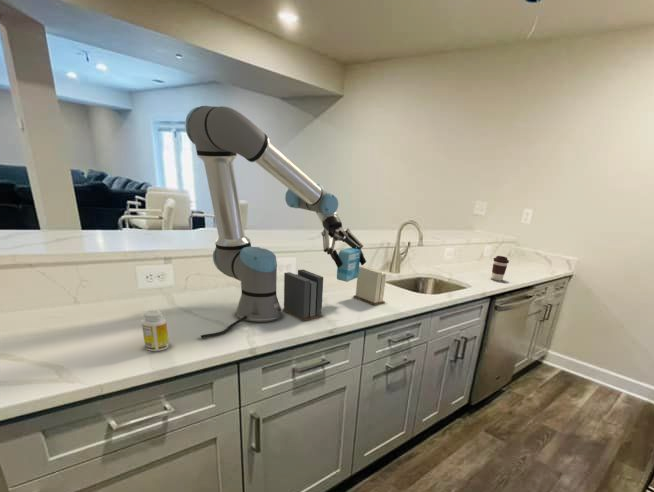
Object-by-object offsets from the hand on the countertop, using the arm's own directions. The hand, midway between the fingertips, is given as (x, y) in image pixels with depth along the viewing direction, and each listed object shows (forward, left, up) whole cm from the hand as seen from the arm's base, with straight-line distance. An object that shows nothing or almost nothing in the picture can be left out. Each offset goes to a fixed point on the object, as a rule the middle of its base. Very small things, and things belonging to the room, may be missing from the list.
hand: (352, 264), depth 156 cm
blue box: (0, +2, -7) cm, 7 cm away
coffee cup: (+128, -7, -18) cm, 130 cm away
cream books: (+14, +1, -17) cm, 22 cm away
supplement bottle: (-75, -2, -18) cm, 77 cm away
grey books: (-23, +1, -17) cm, 29 cm away
